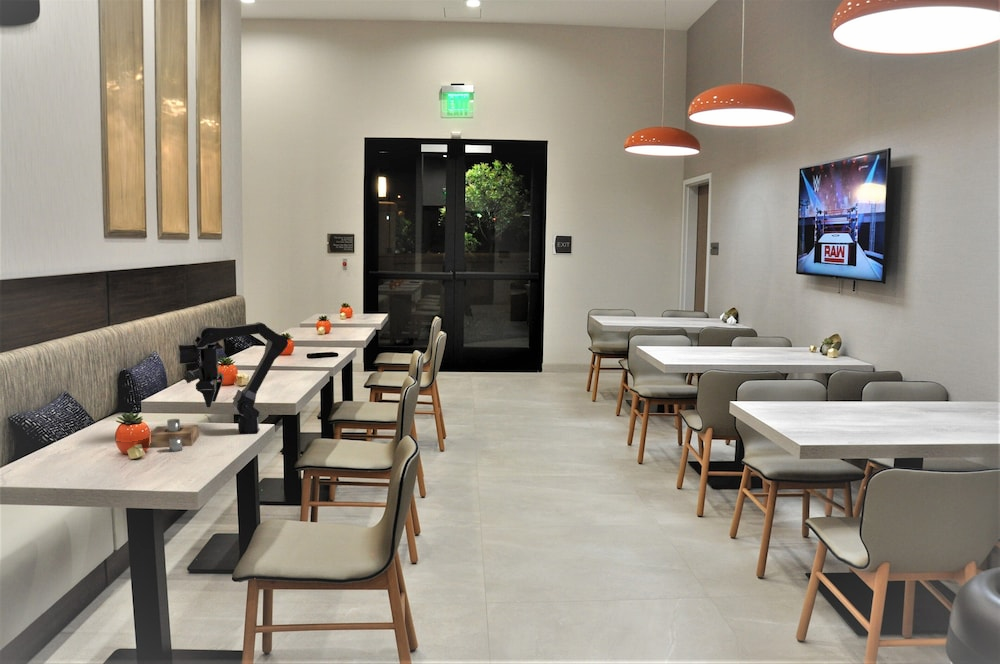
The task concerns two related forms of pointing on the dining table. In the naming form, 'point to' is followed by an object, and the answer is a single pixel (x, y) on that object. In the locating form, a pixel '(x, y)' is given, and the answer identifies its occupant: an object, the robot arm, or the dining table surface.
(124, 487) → the dining table surface
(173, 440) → the short pin
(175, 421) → the tall pin
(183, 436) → the hole block
